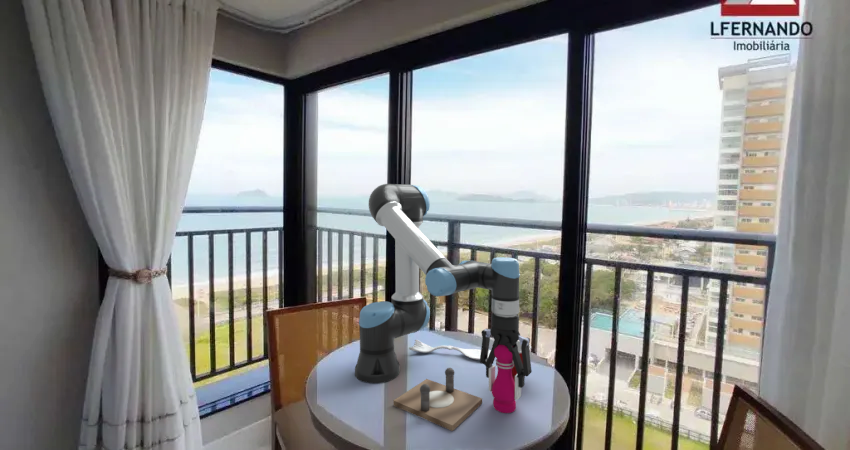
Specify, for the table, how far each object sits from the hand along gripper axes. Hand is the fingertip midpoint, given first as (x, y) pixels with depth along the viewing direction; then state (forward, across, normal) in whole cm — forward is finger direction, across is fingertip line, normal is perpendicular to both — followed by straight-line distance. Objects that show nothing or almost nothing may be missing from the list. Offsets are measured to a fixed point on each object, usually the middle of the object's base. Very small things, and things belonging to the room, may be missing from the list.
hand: (504, 393), depth 102 cm
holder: (+4, -16, -10) cm, 19 cm away
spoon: (+5, -32, +22) cm, 39 cm away
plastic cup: (+4, -4, +16) cm, 17 cm away
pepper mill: (+4, 0, 0) cm, 4 cm away
